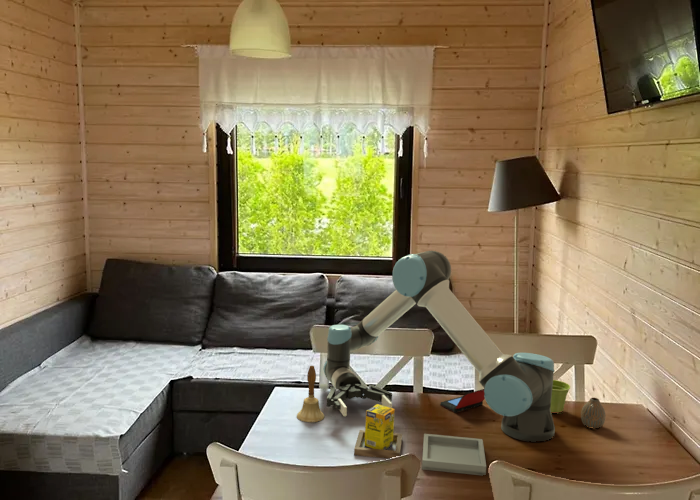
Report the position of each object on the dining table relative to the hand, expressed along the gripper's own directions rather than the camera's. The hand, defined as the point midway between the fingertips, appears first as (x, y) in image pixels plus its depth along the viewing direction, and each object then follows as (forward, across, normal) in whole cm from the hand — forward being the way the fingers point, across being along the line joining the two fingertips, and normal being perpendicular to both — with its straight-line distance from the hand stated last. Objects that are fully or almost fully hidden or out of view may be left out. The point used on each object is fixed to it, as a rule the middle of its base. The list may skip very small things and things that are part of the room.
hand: (368, 409), depth 189 cm
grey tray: (+20, -17, -7) cm, 27 cm away
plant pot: (-3, -63, -7) cm, 64 cm away
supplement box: (+10, 0, -7) cm, 12 cm away
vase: (+10, -68, -7) cm, 69 cm away
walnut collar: (+10, 0, -7) cm, 12 cm away
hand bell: (-14, +13, -7) cm, 21 cm away
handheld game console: (-12, -37, -7) cm, 39 cm away
